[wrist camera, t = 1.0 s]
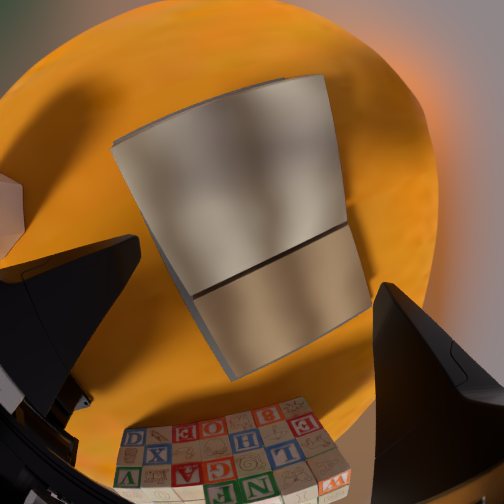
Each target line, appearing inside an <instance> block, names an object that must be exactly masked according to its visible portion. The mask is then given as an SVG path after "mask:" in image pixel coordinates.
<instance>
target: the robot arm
mask: <svg viewBox="0 0 504 504" xmlns="http://www.w3.org/2000/svg"><path fill="white" fill-rule="evenodd" d="M140 259H141V249H140V241H139V238H138V236H136V235H131V234H127V235H123V236H119V237H116V238H112V239H108V240H104V241H100V242H96V243H93V244H89V245H85V246H82V247H78V248H75V249H71V250H67V251H64V252H61V253H57V254H54V255H50V256H47V257H43V258H40V259H37V260H33V261H29V262H26V263H22V264H18V265H14V266H10V267H7V268H3V269H0V504H65V503H67V504H136V503H133V502H131V501H129V500H127V499H125V498H123V497H122V496H120V495H118V494H116V493H114V492H112V491H110V490H108V489H107V488H105V487H103V486H102V485H100V484H98V483H97V482H95V481H94V480H92V479H90V478H89V477H87V476H86V475H84V474H83V473H81V472H80V471H78V470H77V469H75V468H74V467H75V463H76V456H77V449H78V443H79V440H78V439H77V438H75V437H73V436H71V435H70V434H69V433H68V432H66V431H65V430H64V429H65V428H66V425H67V423H68V421H69V419H70V417H71V415H72V414H73V412H74V411H75V410H79V409H83V408H86V407H89V406H90V404H91V401H90V400H89V399H88V397H87V396H86V395H85V394H84V392H83V391H82V390H81V389H80V387H79V386H78V385H77V383H76V382H75V381H74V379H73V378H72V377H71V375H70V374H69V372H70V371H71V369H72V368H73V366H74V364H75V362H76V361H77V359H78V357H79V356H80V354H81V353H82V351H83V349H84V348H85V346H86V344H87V343H88V341H89V340H90V338H91V337H92V335H93V333H94V332H95V330H96V329H97V327H98V326H99V324H100V323H101V321H102V320H103V318H104V317H105V315H106V314H107V312H108V311H109V309H110V308H111V306H112V305H113V303H114V302H115V301H116V299H117V298H118V296H119V295H120V293H121V292H122V290H123V289H124V287H125V286H126V284H127V282H128V280H129V279H130V277H131V275H132V273H133V272H134V270H135V268H136V267H137V265H138V263H139V262H140ZM373 356H374V370H375V391H376V446H375V458H376V459H375V463H374V477H373V487H372V496H371V504H504V387H502V386H501V385H500V384H499V383H498V382H497V381H496V380H495V379H494V378H493V377H491V375H489V374H488V373H487V372H486V371H485V370H484V369H483V368H482V367H481V366H480V365H479V364H478V363H476V361H474V360H473V359H472V358H471V357H470V356H469V355H468V354H467V353H466V352H465V351H464V350H463V349H462V348H461V347H460V346H459V345H458V344H457V343H456V342H455V341H454V340H452V338H451V337H450V336H449V335H448V334H447V333H446V332H445V331H444V330H443V329H442V328H441V327H440V326H439V325H438V324H437V323H436V322H435V321H434V320H433V319H432V318H431V317H429V316H428V315H427V314H426V313H425V312H424V311H423V310H422V309H421V308H420V307H419V306H418V305H417V304H416V303H414V302H413V301H412V300H411V299H410V298H409V297H408V296H407V295H406V294H405V293H403V292H402V291H401V290H400V289H399V288H398V287H397V286H396V285H394V284H393V283H388V282H383V283H382V284H381V285H380V288H379V290H378V293H377V295H376V298H375V300H374V304H373ZM86 402H87V403H86ZM51 493H54V494H55V495H57V496H58V497H57V498H58V499H59V500H58V499H56V498H54V497H52V496H51ZM60 500H61V501H60ZM62 501H63V502H62ZM64 502H65V503H64Z"/></svg>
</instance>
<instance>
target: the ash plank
mask: <svg viewBox="0 0 504 504" xmlns="http://www.w3.org/2000/svg"><path fill="white" fill-rule="evenodd" d="M110 150H111V152H112V154H113V157H114V159H115V161H116V163H117V165H118V167H119V169H120V171H121V173H122V175H123V177H124V179H125V181H126V183H127V185H128V187H129V189H130V191H131V193H132V195H133V197H134V199H135V201H136V203H137V205H138V207H139V208H140V210H141V212H142V214H143V216H144V218H145V220H146V221H147V223H148V225H149V227H150V229H151V231H152V232H153V234H154V236H155V238H156V239H157V241H158V243H159V245H160V246H161V248H162V250H163V252H164V253H165V255H166V257H167V258H168V260H169V262H170V264H171V265H172V267H173V269H174V270H175V272H176V274H177V275H178V277H179V278H180V280H181V282H182V283H183V285H184V287H185V288H186V290H187V291H188V293H189V295H190V296H192V295H194V294H196V293H198V292H200V291H202V290H204V289H207V288H209V287H211V286H213V285H215V284H217V283H219V282H221V281H223V280H226V279H228V278H230V277H232V276H234V275H236V274H238V273H240V272H242V271H244V270H247V269H249V268H251V267H253V266H255V265H257V264H259V263H261V262H263V261H265V260H267V259H269V258H272V257H274V256H276V255H278V254H280V253H282V252H284V251H286V250H288V249H290V248H292V247H294V246H296V245H298V244H300V243H302V242H304V241H306V240H308V239H311V238H313V237H315V236H317V235H319V234H321V233H323V232H325V231H327V230H329V229H331V228H333V227H335V226H337V225H339V224H341V223H343V222H345V221H347V213H346V203H345V194H344V186H343V178H342V171H341V164H340V157H339V151H338V144H337V139H336V133H335V127H334V122H333V117H332V112H331V107H330V102H329V98H328V93H327V89H326V85H325V80H324V76H323V74H317V75H305V76H300V77H295V78H291V79H286V80H282V81H278V82H273V83H269V84H266V85H262V86H258V87H254V88H251V89H247V90H244V91H241V92H237V93H234V94H231V95H228V96H225V97H222V98H219V99H216V100H213V101H210V102H207V103H205V104H202V105H199V106H196V107H194V108H191V109H189V110H186V111H184V112H181V113H179V114H176V115H174V116H172V117H169V118H167V119H165V120H162V121H160V122H158V123H156V124H153V125H151V126H149V127H147V128H145V129H143V130H141V131H139V132H137V133H135V134H133V135H131V136H129V137H127V138H125V139H123V140H121V141H119V142H117V143H115V144H114V145H113V146H112V147H111V148H110Z"/></svg>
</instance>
